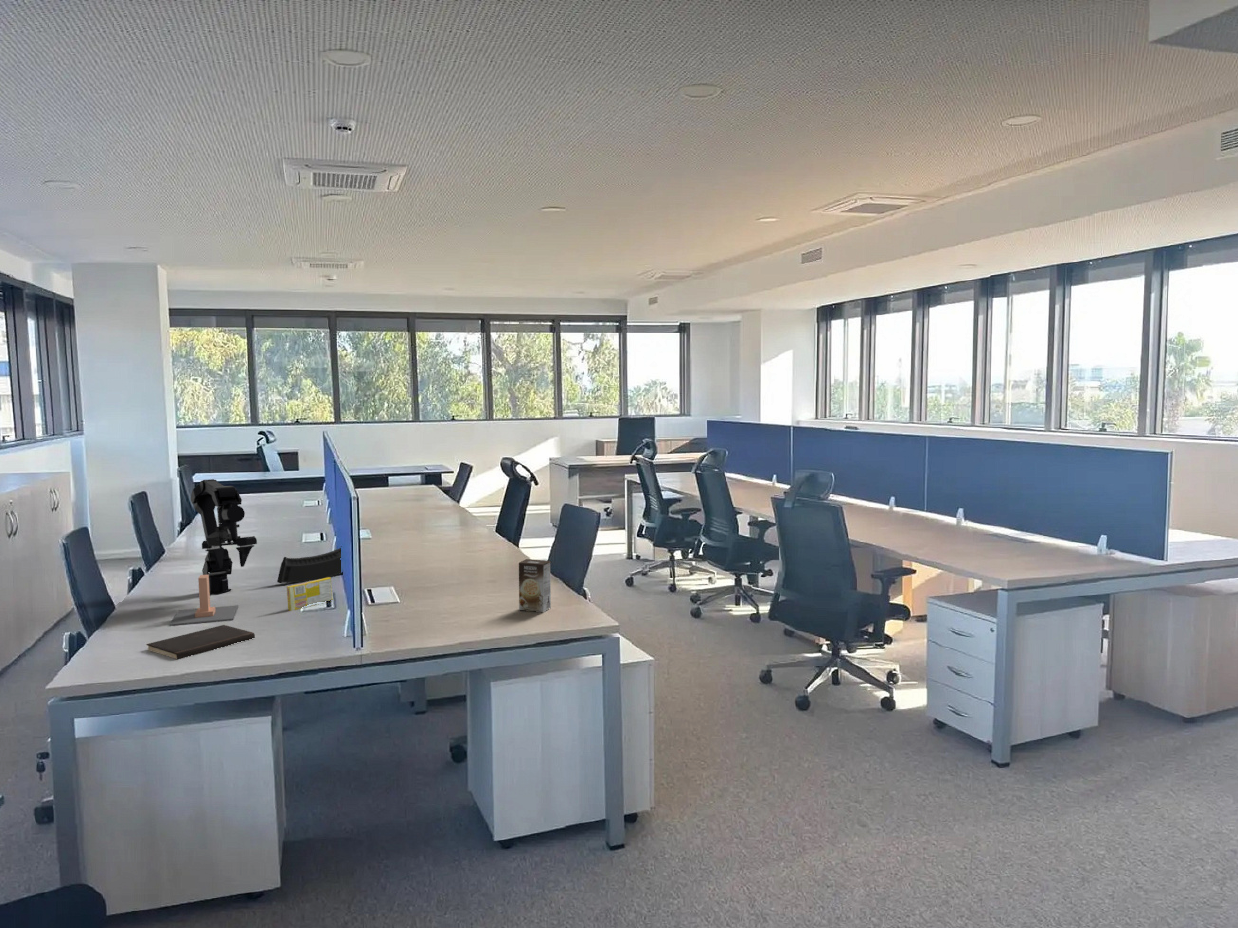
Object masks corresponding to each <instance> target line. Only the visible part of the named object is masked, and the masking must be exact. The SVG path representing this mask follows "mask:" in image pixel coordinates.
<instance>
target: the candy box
mask: <svg viewBox="0 0 1238 928" xmlns="http://www.w3.org/2000/svg"><path fill="white" fill-rule="evenodd" d="M332 589H333V587H332V577H328V578H323V579H318V580H313V581H306V582H300V583H297V584H293V585H289V586H286V596H287V610H288V611H289V612H292V611H297V610H301V608H302V607H304V606H307V605H309V604H313V603H317V602H325V601H330V600H333V601H334V599H333V598H334V597H333V590H332ZM330 602H331V601H330ZM302 609H303V608H302Z"/></svg>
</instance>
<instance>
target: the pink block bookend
mask: <svg viewBox="0 0 1238 928" xmlns="http://www.w3.org/2000/svg"><path fill="white" fill-rule="evenodd" d="M197 579H198V581H197V582H198V595H199V596H198V598H199V607H198V608H196V609H197V610H196V612H195V618H197V617H208V616H213V615H214V613H215V611H216V610H215V607H216V606H211V597H210V596H211V593H210V592H209V575H203V574H200V575H199V577H198V578H197Z"/></svg>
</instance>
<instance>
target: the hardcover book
mask: <svg viewBox="0 0 1238 928" xmlns="http://www.w3.org/2000/svg"><path fill="white" fill-rule="evenodd" d="M252 638H255V639H256V637H255V633H254V632H253V631H249V630H245V629H241V628H237V627H234V626H229V625H225V624H222V625H218V626H217V625H216V626H213V627H209V628H206V629H201V630H198V631H194V632H190V633H186V634H181V635H178V636H174V637H169V638H166V639H162V640H157V641H153V642H150V643H146V646H148V647H147V650H148V651H151V652H153V653H156V654H158V655H163V656H165V655H166V657H168V656H169V658H172V659H174V660H177V661H178V660H181V659H186V658H188V656H189V657H192V656H191V655H193V656H196V655H200V654H203V653H206V652H211V651H214V649H215V650H218V649H217V648H219V649H222V648H226V647H229V646H228V645H230V646H232V645H231V644H233V645H235V644H234V643H237V642H241V641H244V642H246V641H245V640H248V641H250V640H249V639H252ZM252 640H253V639H252ZM241 643H242V642H241ZM237 644H238V643H237ZM225 646H226V647H225ZM221 647H222V648H221ZM185 657H186V658H185Z"/></svg>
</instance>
